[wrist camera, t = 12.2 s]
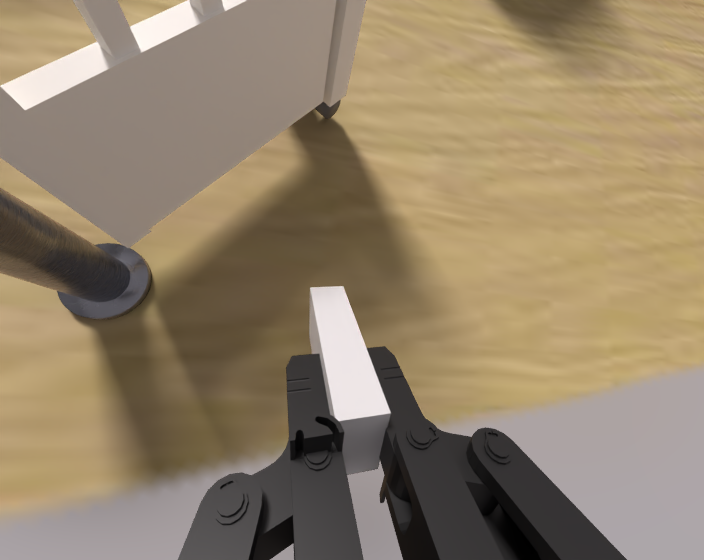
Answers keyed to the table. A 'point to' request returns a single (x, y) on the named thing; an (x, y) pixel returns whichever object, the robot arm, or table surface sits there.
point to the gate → (172, 101)
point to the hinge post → (70, 263)
